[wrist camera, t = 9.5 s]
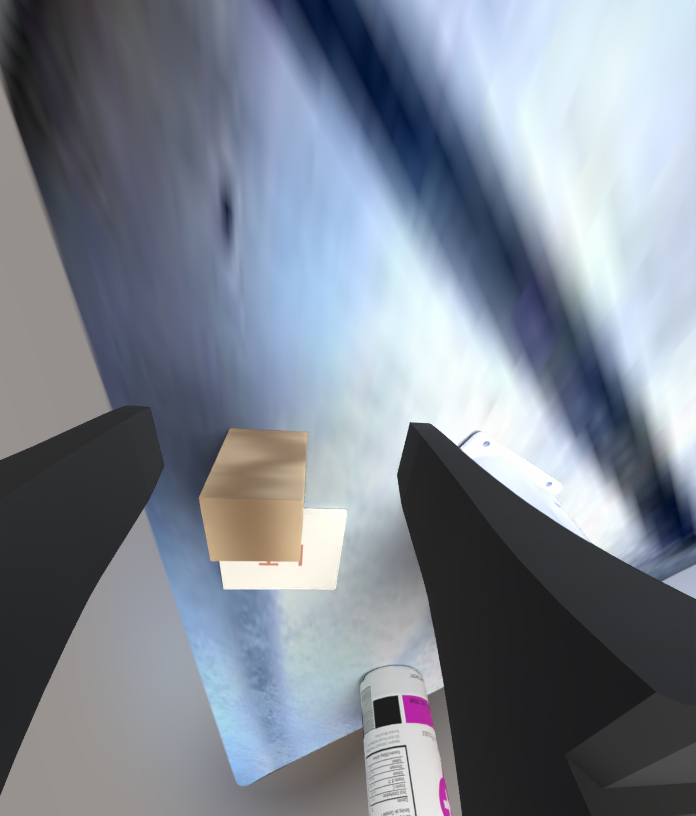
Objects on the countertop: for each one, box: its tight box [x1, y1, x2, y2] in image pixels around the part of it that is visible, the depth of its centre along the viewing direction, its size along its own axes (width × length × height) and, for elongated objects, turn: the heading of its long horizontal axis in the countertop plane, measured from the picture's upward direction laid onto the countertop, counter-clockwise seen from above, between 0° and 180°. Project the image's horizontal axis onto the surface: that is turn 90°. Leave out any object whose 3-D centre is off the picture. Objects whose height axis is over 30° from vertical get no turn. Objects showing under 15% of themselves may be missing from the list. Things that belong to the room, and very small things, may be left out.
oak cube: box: [199, 428, 308, 562], centre depth 20 cm, size 5×5×6 cm
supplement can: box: [360, 665, 452, 816], centre depth 35 cm, size 8×8×15 cm
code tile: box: [219, 508, 347, 590], centre depth 27 cm, size 10×10×1 cm
